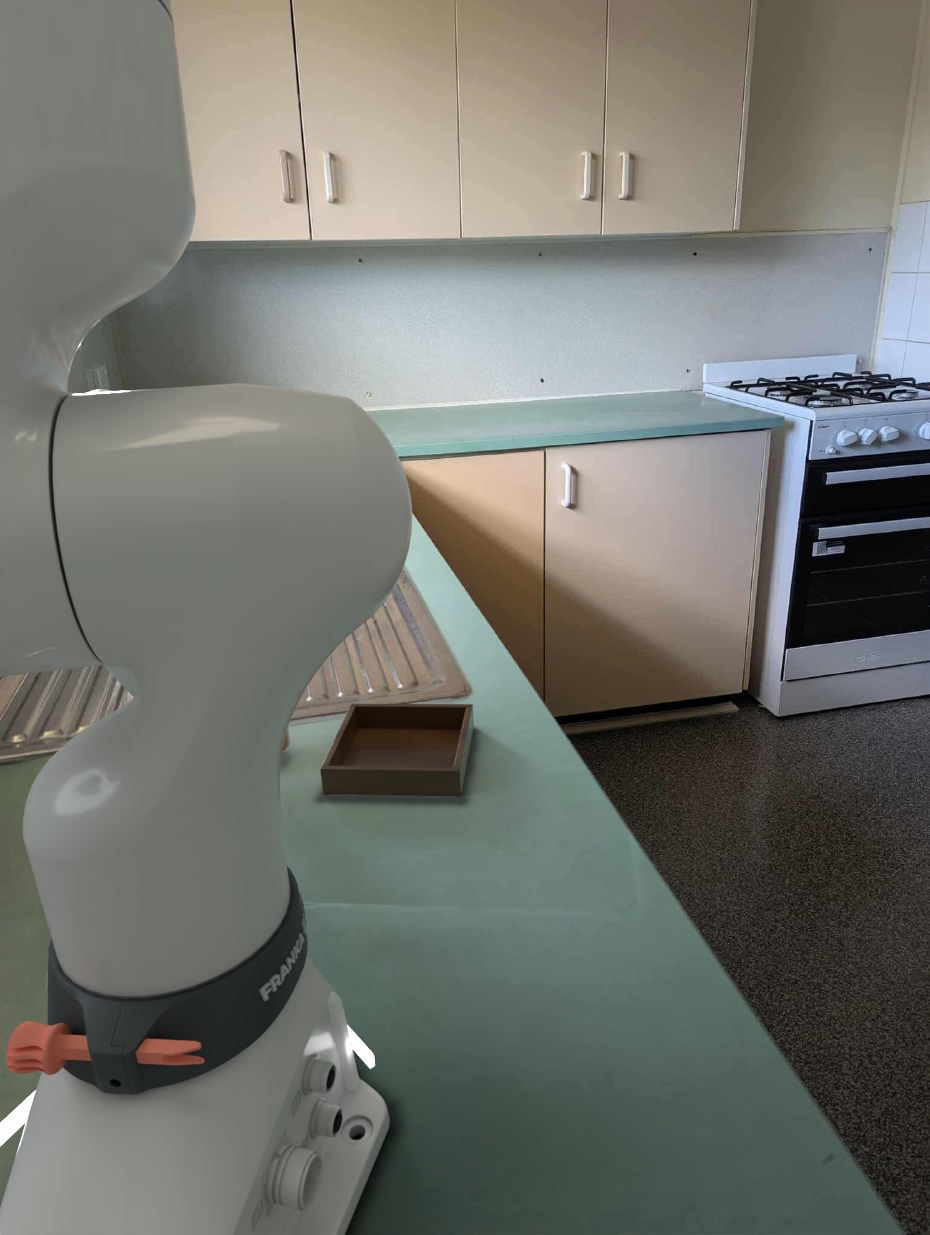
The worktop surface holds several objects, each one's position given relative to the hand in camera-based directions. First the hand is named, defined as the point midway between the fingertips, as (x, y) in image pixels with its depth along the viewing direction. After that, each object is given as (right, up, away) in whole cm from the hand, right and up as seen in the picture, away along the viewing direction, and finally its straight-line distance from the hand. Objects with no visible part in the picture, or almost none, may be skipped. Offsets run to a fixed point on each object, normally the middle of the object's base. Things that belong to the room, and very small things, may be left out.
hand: (259, 685), depth 79 cm
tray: (+13, -7, +3) cm, 15 cm away
